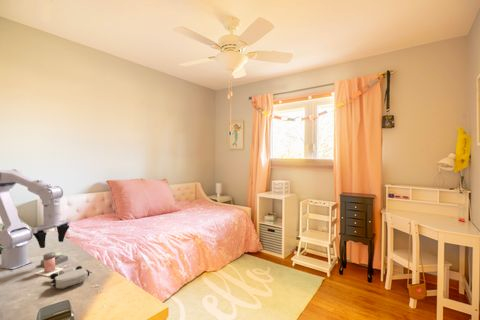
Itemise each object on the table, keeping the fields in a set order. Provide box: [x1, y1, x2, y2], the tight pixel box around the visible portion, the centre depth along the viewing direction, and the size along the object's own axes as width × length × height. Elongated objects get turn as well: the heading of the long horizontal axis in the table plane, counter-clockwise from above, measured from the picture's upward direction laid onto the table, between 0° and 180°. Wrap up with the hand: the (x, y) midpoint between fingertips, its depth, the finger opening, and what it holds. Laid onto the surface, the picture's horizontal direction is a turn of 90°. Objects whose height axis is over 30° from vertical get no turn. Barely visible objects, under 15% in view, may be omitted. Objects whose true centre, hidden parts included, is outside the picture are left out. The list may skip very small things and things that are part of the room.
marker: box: [42, 251, 56, 273], centre depth 98 cm, size 4×4×7 cm
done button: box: [53, 251, 62, 259], centre depth 106 cm, size 5×5×3 cm
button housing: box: [40, 254, 69, 266], centre depth 106 cm, size 7×7×2 cm
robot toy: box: [48, 265, 93, 290], centre depth 89 cm, size 12×4×15 cm
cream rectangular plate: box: [34, 266, 64, 278], centre depth 98 cm, size 8×6×1 cm
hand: (51, 244), depth 102 cm, fingers open, 7 cm apart
